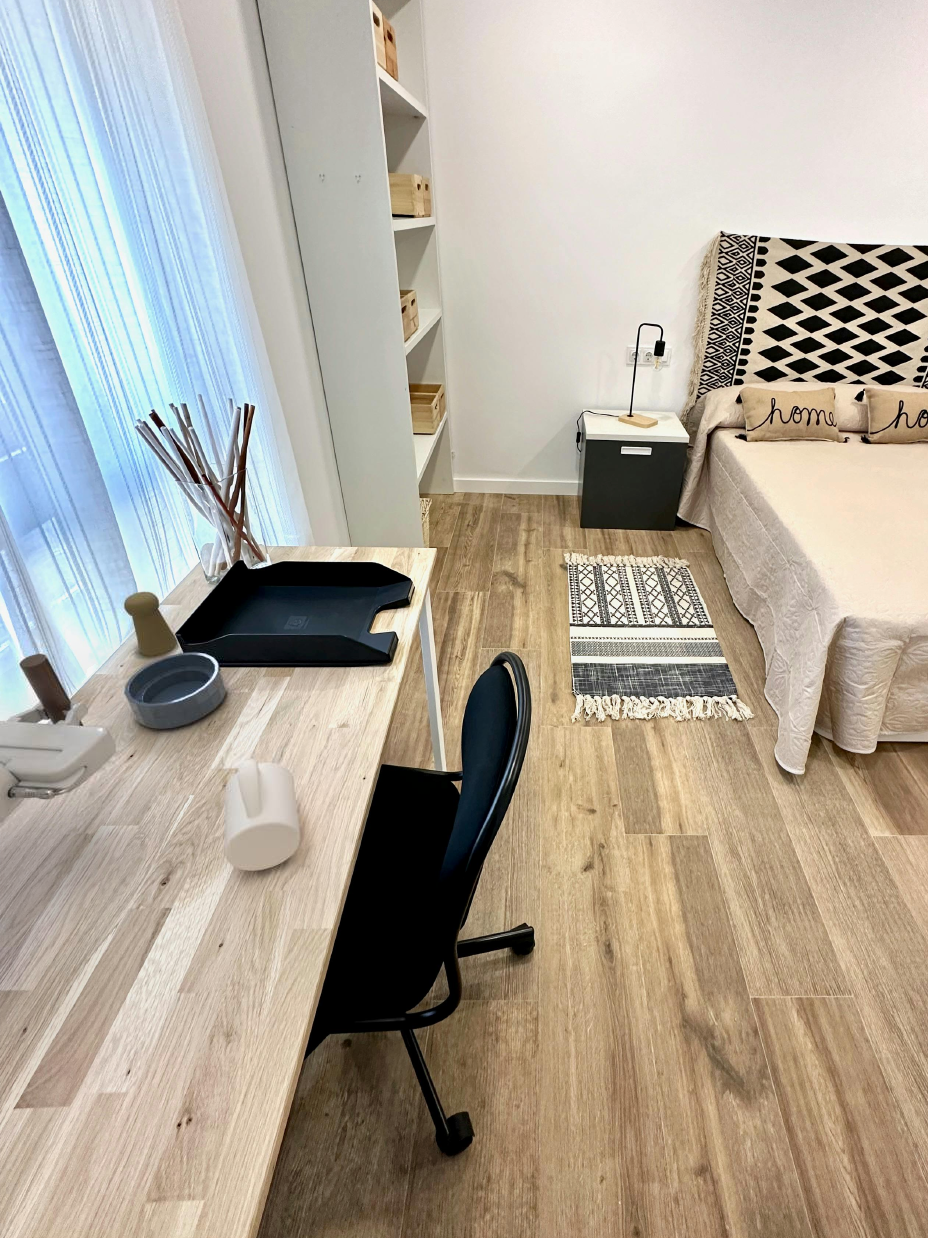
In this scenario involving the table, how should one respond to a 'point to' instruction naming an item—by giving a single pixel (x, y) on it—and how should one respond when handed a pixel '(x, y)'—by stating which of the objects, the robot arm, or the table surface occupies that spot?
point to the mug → (260, 816)
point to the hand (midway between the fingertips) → (65, 705)
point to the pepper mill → (149, 624)
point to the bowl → (175, 690)
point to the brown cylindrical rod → (46, 686)
